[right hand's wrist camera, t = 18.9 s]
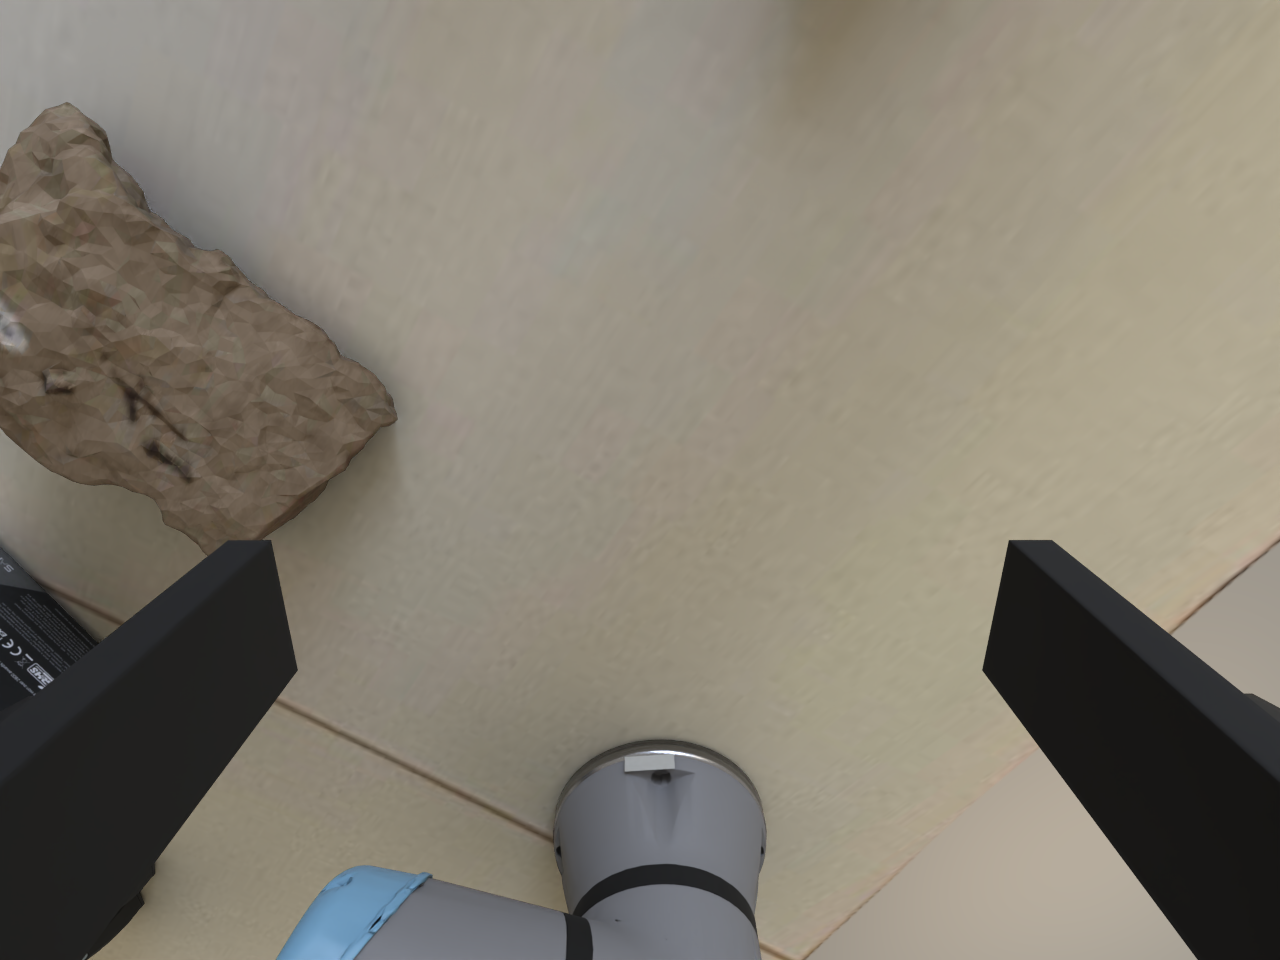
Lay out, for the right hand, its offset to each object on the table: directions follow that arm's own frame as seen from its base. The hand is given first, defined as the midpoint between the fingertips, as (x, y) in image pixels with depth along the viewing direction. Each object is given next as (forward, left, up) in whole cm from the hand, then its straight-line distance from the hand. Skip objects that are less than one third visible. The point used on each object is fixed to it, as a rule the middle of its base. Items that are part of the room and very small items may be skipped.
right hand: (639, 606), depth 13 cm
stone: (-18, +17, -29) cm, 38 cm away
